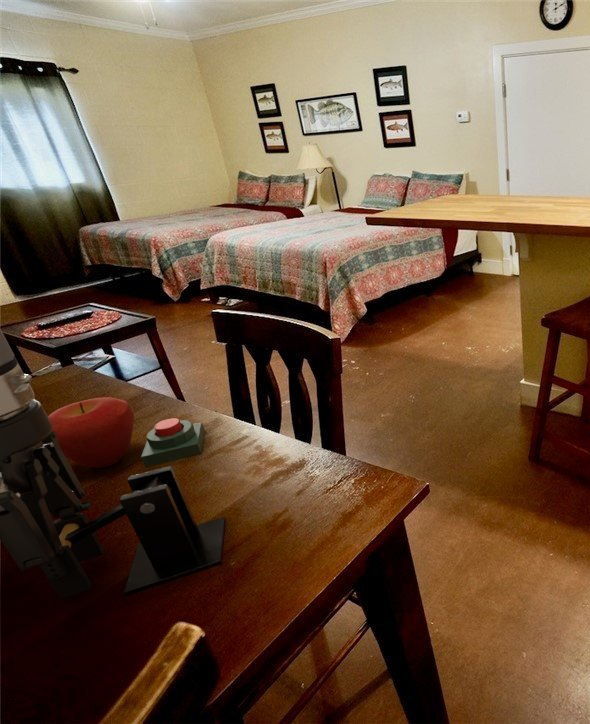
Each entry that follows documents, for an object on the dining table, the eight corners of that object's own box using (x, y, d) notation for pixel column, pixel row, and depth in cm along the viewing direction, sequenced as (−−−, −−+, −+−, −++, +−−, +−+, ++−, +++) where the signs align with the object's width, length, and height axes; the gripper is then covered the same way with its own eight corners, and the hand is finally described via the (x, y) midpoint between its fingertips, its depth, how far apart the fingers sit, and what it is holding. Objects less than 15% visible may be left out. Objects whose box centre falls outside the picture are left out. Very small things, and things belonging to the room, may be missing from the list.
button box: (145, 467, 80) (136, 448, 79) (153, 443, 87) (146, 425, 85) (201, 454, 84) (194, 435, 82) (205, 431, 90) (198, 413, 88)
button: (156, 439, 82) (152, 431, 81) (159, 429, 84) (156, 421, 84) (181, 434, 83) (177, 425, 82) (183, 424, 86) (180, 416, 85)
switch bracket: (127, 599, 57) (82, 520, 52) (142, 548, 65) (104, 473, 59) (223, 567, 62) (191, 491, 56) (227, 522, 69) (199, 451, 63)
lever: (59, 566, 54) (41, 554, 53) (73, 537, 58) (56, 525, 57) (167, 505, 57) (152, 493, 56) (173, 481, 61) (159, 469, 60)
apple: (154, 437, 88) (129, 380, 83) (140, 470, 80) (112, 409, 75) (78, 453, 84) (47, 394, 79) (54, 489, 75) (18, 426, 70)
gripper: (-2, 448, 43) (102, 619, 53) (64, 369, 57) (136, 516, 67) (-125, 474, 39) (11, 651, 49) (-22, 384, 54) (67, 535, 64)
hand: (83, 573), depth 58 cm, fingers closed on lever, 5 cm apart
